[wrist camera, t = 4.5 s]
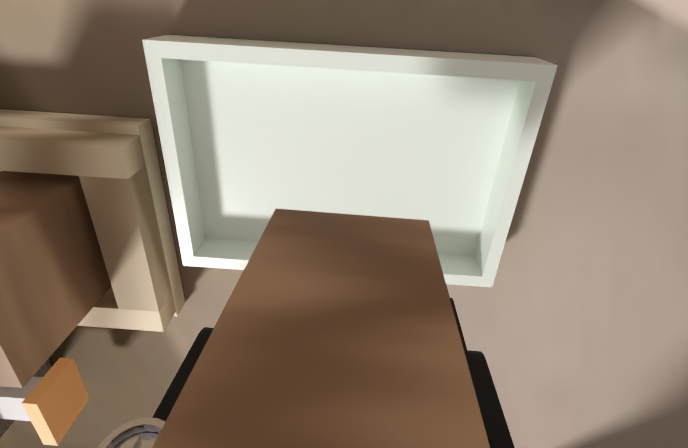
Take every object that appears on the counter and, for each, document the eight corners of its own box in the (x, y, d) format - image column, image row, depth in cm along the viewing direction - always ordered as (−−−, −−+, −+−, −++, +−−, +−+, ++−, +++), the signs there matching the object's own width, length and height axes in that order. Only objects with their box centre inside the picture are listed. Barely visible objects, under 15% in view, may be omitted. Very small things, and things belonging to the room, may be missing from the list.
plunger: (73, 358, 23) (36, 404, 21) (89, 398, 25) (57, 445, 23) (-8, 352, 23) (-55, 397, 21) (13, 393, 25) (-27, 439, 23)
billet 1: (89, 175, 19) (-44, 261, 13) (118, 278, 22) (22, 388, 16) (4, 169, 19) (-168, 253, 13) (45, 272, 22) (-78, 380, 16)
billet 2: (428, 220, 10) (510, 520, 4) (401, 383, 13) (425, 711, 7) (275, 208, 11) (135, 481, 4) (279, 372, 13) (197, 683, 7)
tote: (535, 56, 16) (557, 65, 15) (480, 261, 22) (491, 287, 20) (167, 34, 17) (141, 39, 15) (199, 241, 22) (182, 265, 20)
